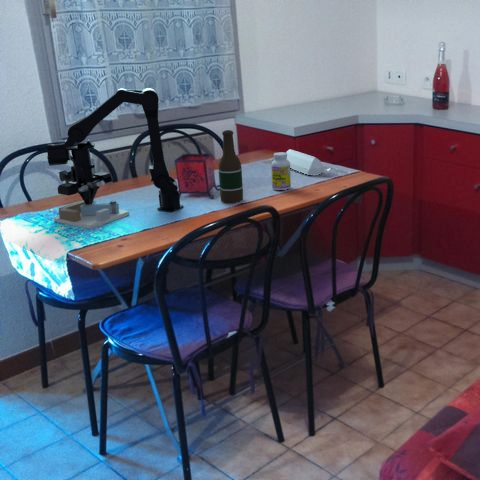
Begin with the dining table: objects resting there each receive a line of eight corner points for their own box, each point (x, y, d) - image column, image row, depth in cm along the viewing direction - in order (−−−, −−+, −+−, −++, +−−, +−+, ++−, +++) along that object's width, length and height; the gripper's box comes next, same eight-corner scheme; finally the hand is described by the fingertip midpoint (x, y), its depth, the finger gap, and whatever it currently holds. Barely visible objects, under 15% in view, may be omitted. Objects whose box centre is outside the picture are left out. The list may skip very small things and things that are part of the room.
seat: (129, 214, 226) (128, 202, 225) (90, 229, 214) (88, 216, 212) (93, 207, 236) (92, 196, 235) (54, 221, 224) (52, 209, 222)
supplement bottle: (269, 190, 244) (268, 155, 240) (275, 186, 250) (274, 151, 246) (287, 191, 242) (286, 155, 238) (293, 186, 248) (292, 151, 244)
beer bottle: (216, 201, 235) (211, 131, 227) (231, 196, 241) (227, 128, 233) (232, 205, 230) (227, 133, 222) (248, 199, 235) (244, 129, 228)
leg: (119, 210, 227) (117, 200, 225) (118, 212, 224) (117, 202, 223) (82, 213, 225) (80, 203, 224) (81, 216, 223) (80, 205, 222)
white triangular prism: (275, 157, 278) (305, 168, 257) (288, 147, 279) (319, 156, 259) (283, 172, 281) (314, 183, 261) (296, 161, 283) (328, 172, 262)
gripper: (87, 154, 233) (94, 198, 238) (42, 167, 219) (51, 213, 224) (110, 156, 226) (116, 201, 231) (65, 170, 212) (73, 218, 218)
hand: (89, 208), depth 226 cm, fingers closed
